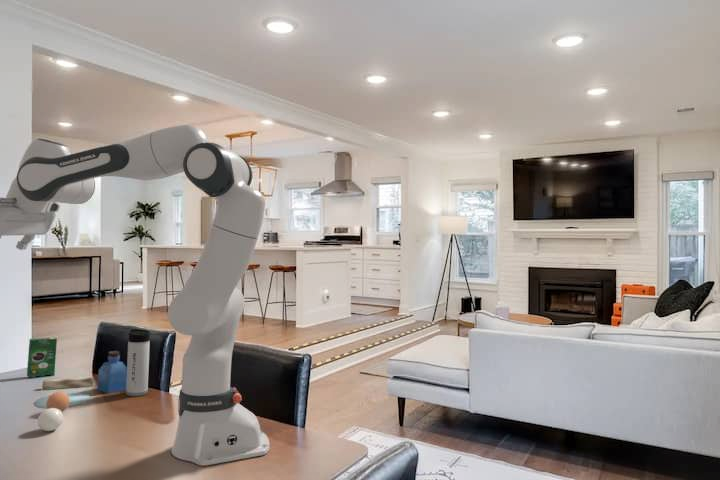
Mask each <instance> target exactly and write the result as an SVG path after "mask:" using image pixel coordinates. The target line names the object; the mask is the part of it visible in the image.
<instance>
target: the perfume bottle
mask: <svg viewBox="0 0 720 480" xmlns="http://www.w3.org/2000/svg"><path fill="white" fill-rule="evenodd" d="M120 358H121V355H120V351H118V350H113V351H112V350H111V351H108V356H107V360H108V361H107V362H106V361H105V362H103V363H102V365H101V367H99V369H98V371H97V372H98V373H97V374H98V376H97V379H98V380H97V390H98V391H101V392H103V393H106V394H113V393H115V392H120V391H124V390H125V391H126V381H127V365H125V363H124V362H123V361H120Z"/></svg>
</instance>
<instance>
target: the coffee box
mask: <svg viewBox="0 0 720 480" xmlns="http://www.w3.org/2000/svg"><path fill="white" fill-rule="evenodd" d="M57 343H58V338H57V337H43V338H42V337H40V338H30V339H29V344H28V355H27V356H28V357H27V368H26V370H27V371H26V377H27V376H28V377H35V376H43V377H46V376H45V375H53V376H55V371H56V370H55V369H56V360H57V359H56V357H57ZM35 378H36V377H35Z"/></svg>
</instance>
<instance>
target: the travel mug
mask: <svg viewBox="0 0 720 480" xmlns="http://www.w3.org/2000/svg"><path fill="white" fill-rule="evenodd" d="M150 337H151V332H150V331H149V330H146V329H138V328H131V329H130V330H129V331H128V341H127V342H128V343H127V360H126V361H127V363H126V364H127V365H126V368H127V381H126V389H125V395H126V396H129V397H140V396H141V397H142V396H145V395H147V393H148V392H149V371H150V370H149V368H150V366H149V365H150V346H151V345H150V344H151V343H150V341H151V339H150Z"/></svg>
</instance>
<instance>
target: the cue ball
mask: <svg viewBox="0 0 720 480" xmlns="http://www.w3.org/2000/svg"><path fill="white" fill-rule="evenodd" d="M63 422H64V414H63V411H62V412H61V411H60V410H59V409H56V408H49V409H48V408H45V410H43V411H42V412H41V413H40V414H39V416H38V418H37V424H38V425H37V426H38V427H39V429H41V430H42V431H45V432H53V431H55V430H56V429H58V428H59V427H61V425H62V424H63Z"/></svg>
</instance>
